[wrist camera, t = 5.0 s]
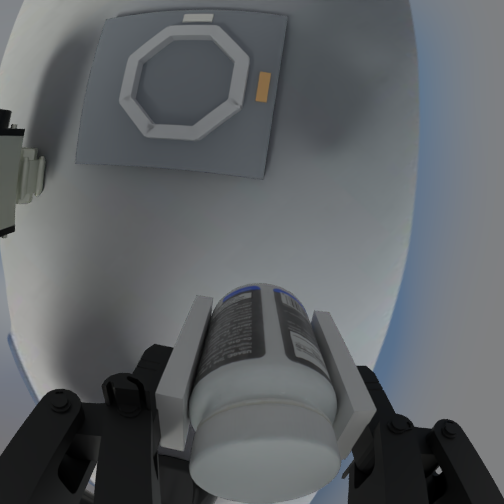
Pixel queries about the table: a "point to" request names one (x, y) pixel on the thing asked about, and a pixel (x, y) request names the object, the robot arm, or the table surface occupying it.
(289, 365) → the pill bottle
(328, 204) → the table surface
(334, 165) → the table surface
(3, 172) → the pneumatic valve
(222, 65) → the slate board
